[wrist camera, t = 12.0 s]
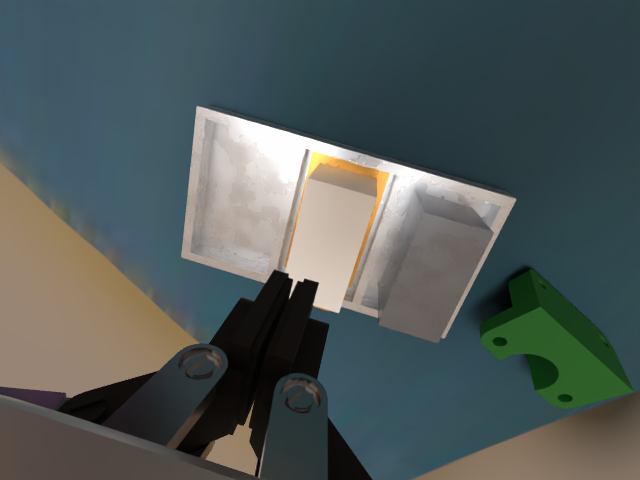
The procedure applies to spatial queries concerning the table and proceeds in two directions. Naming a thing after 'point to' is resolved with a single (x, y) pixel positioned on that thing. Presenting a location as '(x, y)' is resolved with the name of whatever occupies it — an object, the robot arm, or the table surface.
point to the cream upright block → (331, 231)
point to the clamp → (555, 345)
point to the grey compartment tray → (381, 234)
